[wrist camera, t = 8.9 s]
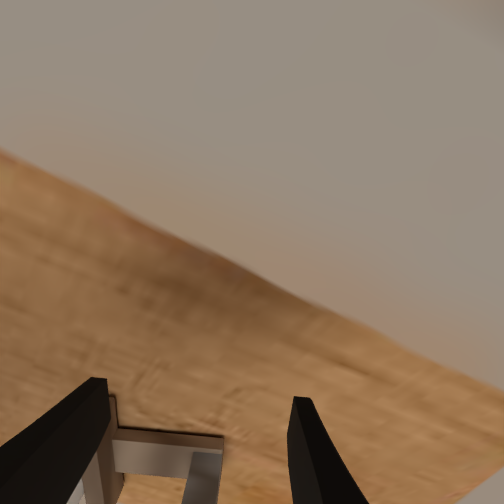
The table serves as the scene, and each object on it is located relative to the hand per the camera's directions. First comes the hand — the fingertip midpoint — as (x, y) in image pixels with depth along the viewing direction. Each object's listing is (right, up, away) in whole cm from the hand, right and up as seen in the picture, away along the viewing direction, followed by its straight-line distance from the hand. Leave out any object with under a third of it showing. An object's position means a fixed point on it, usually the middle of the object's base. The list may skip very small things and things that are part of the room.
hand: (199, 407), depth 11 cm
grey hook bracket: (-6, -11, +14) cm, 19 cm away
